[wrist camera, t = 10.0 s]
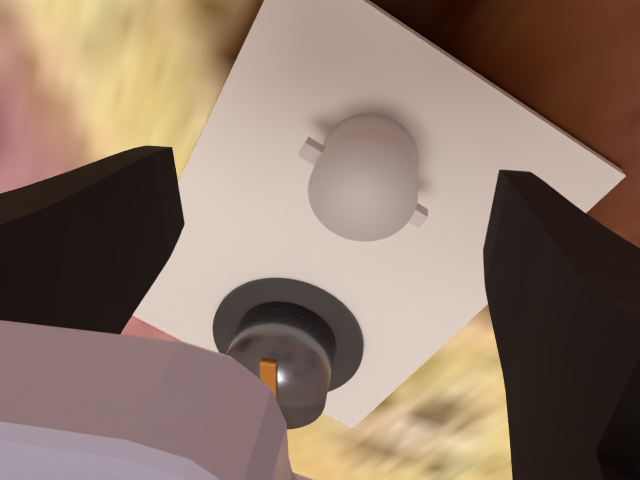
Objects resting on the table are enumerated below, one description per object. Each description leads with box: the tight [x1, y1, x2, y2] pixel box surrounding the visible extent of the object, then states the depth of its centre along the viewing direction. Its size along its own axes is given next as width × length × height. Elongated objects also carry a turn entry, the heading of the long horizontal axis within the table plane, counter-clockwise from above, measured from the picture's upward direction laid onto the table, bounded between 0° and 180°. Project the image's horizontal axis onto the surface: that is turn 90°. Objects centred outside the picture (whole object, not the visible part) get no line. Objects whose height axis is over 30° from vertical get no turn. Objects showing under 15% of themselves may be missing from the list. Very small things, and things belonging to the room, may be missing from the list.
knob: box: [226, 302, 336, 429], centre depth 26 cm, size 5×5×4 cm
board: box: [133, 0, 626, 429], centre depth 24 cm, size 15×20×4 cm
